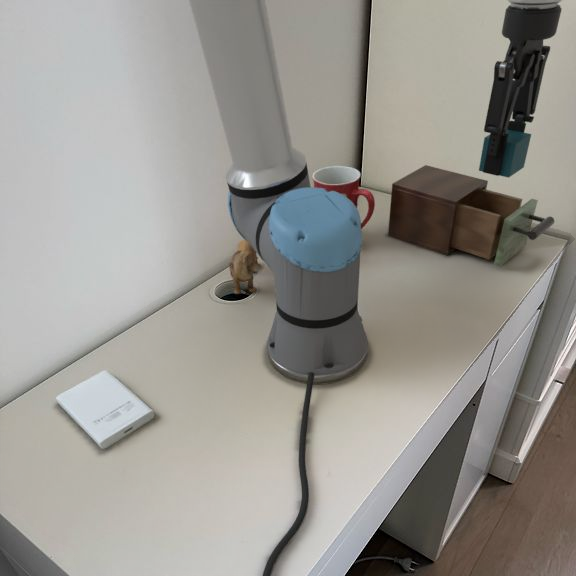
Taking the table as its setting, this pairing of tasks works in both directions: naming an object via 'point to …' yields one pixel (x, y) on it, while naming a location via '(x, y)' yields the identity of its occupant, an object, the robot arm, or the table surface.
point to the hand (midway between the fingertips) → (500, 167)
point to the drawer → (495, 225)
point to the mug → (344, 185)
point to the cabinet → (429, 206)
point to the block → (510, 152)
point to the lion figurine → (244, 266)
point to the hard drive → (105, 408)
